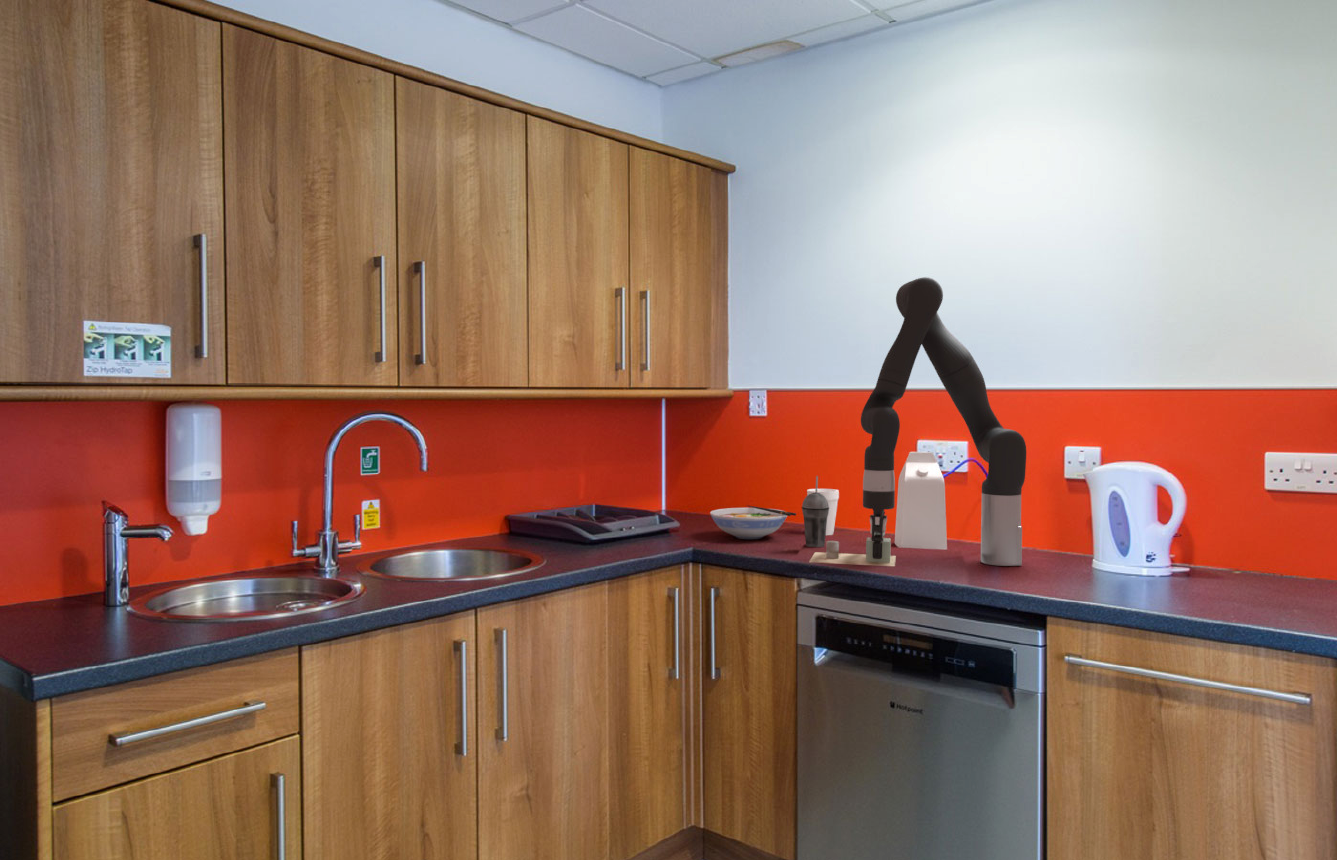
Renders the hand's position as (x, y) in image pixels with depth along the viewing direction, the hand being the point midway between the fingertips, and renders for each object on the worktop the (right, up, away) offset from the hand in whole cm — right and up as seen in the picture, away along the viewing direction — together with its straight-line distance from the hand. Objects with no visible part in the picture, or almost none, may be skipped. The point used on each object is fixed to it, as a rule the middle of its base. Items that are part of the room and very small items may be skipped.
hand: (877, 555), depth 220 cm
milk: (+18, -2, +27) cm, 33 cm away
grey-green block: (0, -1, 0) cm, 1 cm away
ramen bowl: (-27, -1, +44) cm, 52 cm away
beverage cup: (-12, -2, +21) cm, 24 cm away
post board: (-6, -3, +2) cm, 6 cm away
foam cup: (-5, -1, +51) cm, 51 cm away
